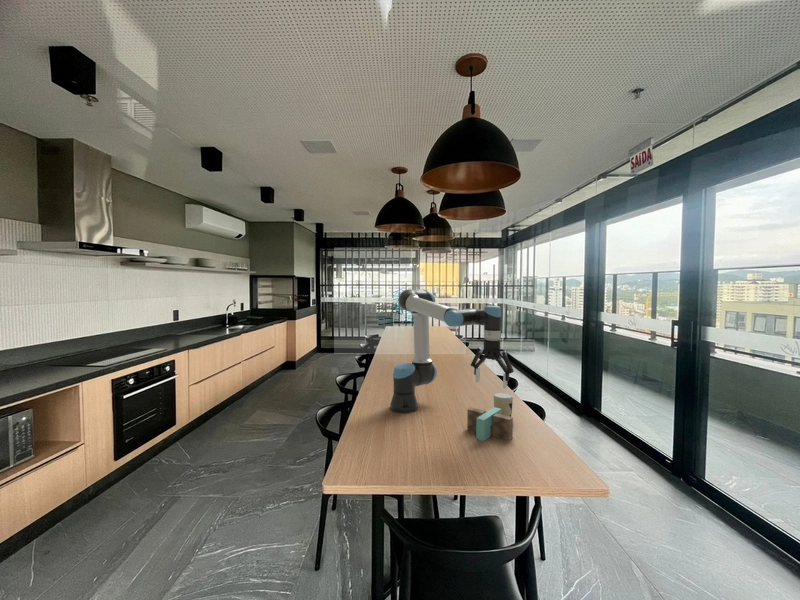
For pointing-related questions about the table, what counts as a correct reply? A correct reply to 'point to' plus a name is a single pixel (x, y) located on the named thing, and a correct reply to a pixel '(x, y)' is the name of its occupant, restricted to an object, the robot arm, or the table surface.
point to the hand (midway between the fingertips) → (491, 384)
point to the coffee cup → (503, 403)
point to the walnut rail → (500, 423)
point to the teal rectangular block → (485, 424)
